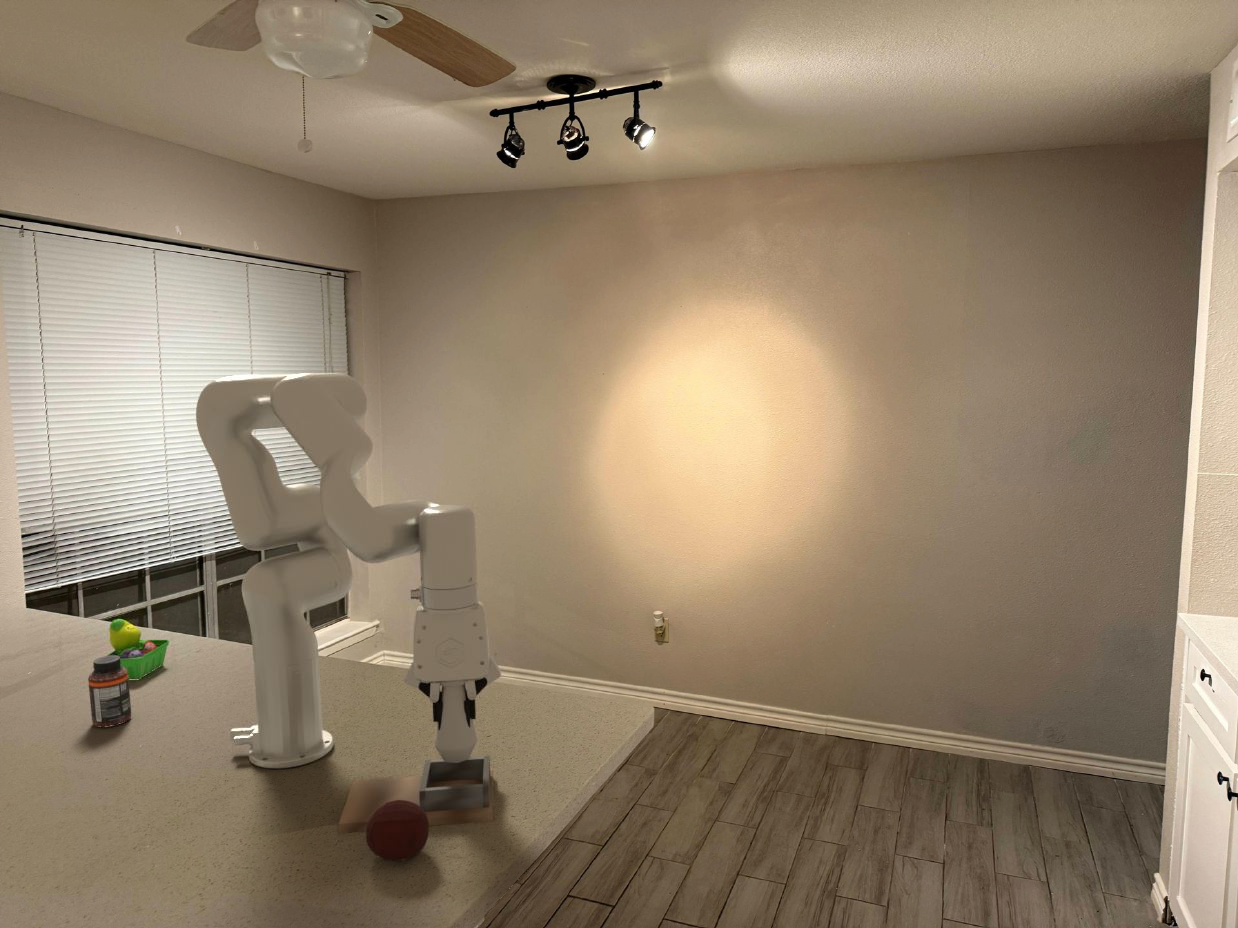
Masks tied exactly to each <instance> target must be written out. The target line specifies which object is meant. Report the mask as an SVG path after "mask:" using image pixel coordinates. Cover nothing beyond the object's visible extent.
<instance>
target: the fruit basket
mask: <svg viewBox="0 0 1238 928" xmlns="http://www.w3.org/2000/svg"><path fill="white" fill-rule="evenodd" d="M108 631H109V643H110V646H111V647H112V648H113V649H114V651H112V652H110V653H109V654H107V655H106V656H112V655H114V656H119V657H120V662H121V664H120V665H121V666H122V667H124V668H125V669H126V670H127V672H128V679H140V678H142V677H143V676H144V675H145V674H148V673H149V672H151V671H152V670H154V669H156V668H157V667H159V666H160V665H162V666H163V665H164V662H165V658H166V653H167V649H168V646H169V643H170V639H141V635H142V631H141V630H140V629H139V628H138V627H136V626H135V625H133V624H132V623H130V622H129V621H127V620H125V619H121V618H117V619H113V620H112V621H111V622H110V625H109V629H108ZM159 668H160V667H159ZM157 669H158V668H157ZM157 669H156V670H157ZM151 673H152V672H151Z"/></svg>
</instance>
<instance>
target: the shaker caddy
mask: <svg viewBox="0 0 1238 928" xmlns="http://www.w3.org/2000/svg"><path fill="white" fill-rule="evenodd" d="M490 757H491V756H490V755H483V756H482V755H481V756H470V758H469V759H468V760H465V761H462V762H459V763H451V762H445V761H444V760H443V758H441V759H440V758H439V759H427V760H424V766H423V771H422V775H415V776H414V775H413V776H400V777H399V776H398V777H387V778H386V777H385V778H384V777H383V778H371V779H360V780H358V779H357V780H356V779H355V780H353V781H352V784H351V787H350V791H349V793H348V795H347V799H346V801H345V804H344V807H343V810H342V813H341V816H340V818H339V820H338V823H337V826H338V827H337V828H338V834H340V833H341V834H342V833H352V832H366V827H367V824H368V821H369V820H370V818H371V817H372V816H373V814H374V813H375V812H376V810H377V809H378V808H380V807H381V806H383V805H384V804H386V803H388V802H391V801H395V800H406V801H410V802H413V803H415V804H417V805H419V806H420V807H421V808H422V809H423V810H424V812H425V813H426V815H427V818H428V822H429V827H430V826H440V825H442V826H443V825H455V824H456V825H457V824H465V823H467V824H469V823H481V822H491V821H493V811H494V810H493V808H494V807H493V804H494V803H493V802H494V770H491V758H490Z"/></svg>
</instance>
